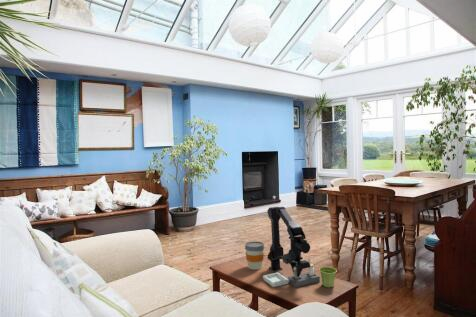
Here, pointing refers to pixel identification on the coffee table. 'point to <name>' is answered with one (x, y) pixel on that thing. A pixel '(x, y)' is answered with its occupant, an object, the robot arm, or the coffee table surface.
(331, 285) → the plant pot
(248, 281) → the coffee table surface
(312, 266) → the cylinder
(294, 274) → the cream capped cylinder
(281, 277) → the parts tray
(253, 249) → the reusable coffee cup
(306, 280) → the fuse holder
